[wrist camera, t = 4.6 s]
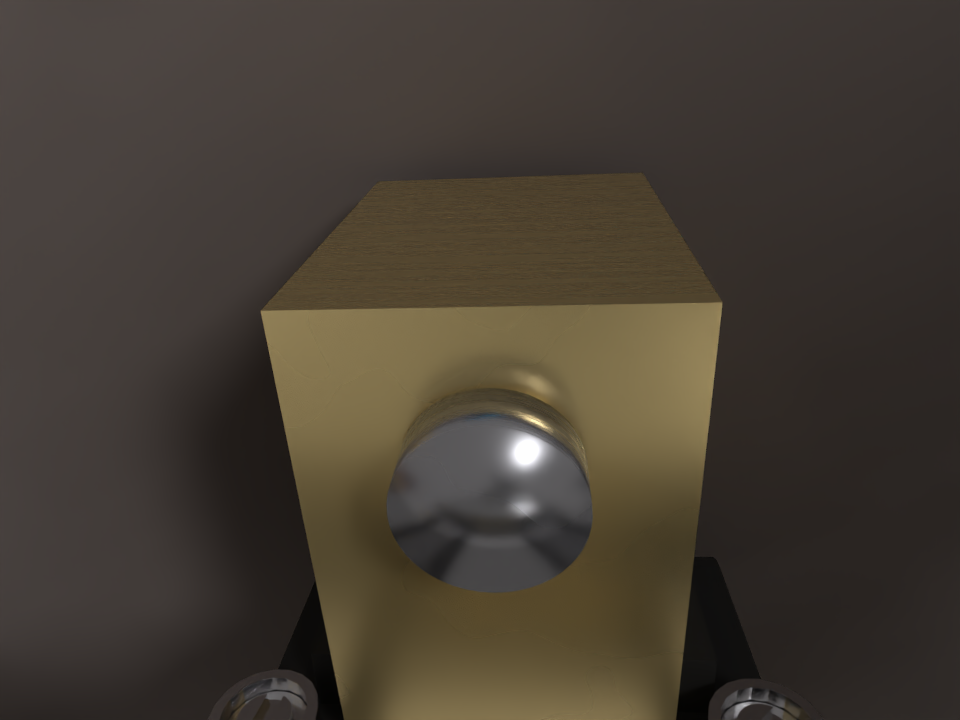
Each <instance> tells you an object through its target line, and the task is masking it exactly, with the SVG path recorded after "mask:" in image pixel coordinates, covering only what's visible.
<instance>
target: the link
mask: <svg viewBox="0 0 960 720" xmlns="http://www.w3.org/2000/svg"><path fill="white" fill-rule="evenodd" d="M721 312H722V301H721V299H720V298H719V296H718V294H717V293H716V291H715V290H714V288H713V286H712V285H711V283H710V281H709V280H708V278H707V277H706V275H705V273H704V272H703V270H702V268H701V267H700V265H699V264H698V262H697V260H696V259H695V257H694V255H693V254H692V252H691V251H690V249H689V247H688V246H687V244H686V242H685V241H684V239H683V238H682V236H681V234H680V233H679V231H678V230H677V228H676V226H675V225H674V223H673V221H672V220H671V218H670V217H669V215H668V213H667V212H666V210H665V208H664V207H663V205H662V204H661V202H660V200H659V199H658V197H657V195H656V194H655V192H654V191H653V189H652V187H651V186H650V184H649V182H648V181H647V179H646V178H645V176H644V174H643V173H615V174H586V175H557V176H528V177H498V178H469V179H440V180H411V181H381V182H377V184H376V185H375V186H374V187H373V188H372V189H371V190H370V191H369V192H368V193H367V195H366V196H365V197H364V198H363V199H362V200H361V201H360V202H359V203H358V204H357V206H356V207H355V208H354V209H353V210H352V211H351V212H350V213H349V214H348V215H347V216H346V218H345V219H344V220H343V221H342V222H341V223H340V224H339V225H338V226H337V227H336V229H335V230H334V231H333V232H332V233H331V234H330V235H329V236H328V237H327V238H326V240H325V241H324V242H323V243H322V244H321V245H320V246H319V247H318V248H317V249H316V251H315V252H314V253H313V254H312V255H311V256H310V257H309V258H308V259H307V260H306V262H305V263H304V264H303V265H302V266H301V267H300V268H299V269H298V270H297V271H296V272H295V274H294V275H293V276H292V277H291V278H290V279H289V280H288V281H287V282H286V283H285V285H284V286H283V287H282V288H281V289H280V290H279V291H278V292H277V293H276V294H275V296H274V297H273V298H272V299H271V300H270V301H269V302H268V303H267V304H266V305H265V307H264V308H263V309H262V310H261V315H262V320H263V325H264V330H265V335H266V340H267V345H268V349H269V354H270V359H271V364H272V369H273V374H274V379H275V384H276V389H277V393H278V398H279V403H280V408H281V413H282V418H283V423H284V428H285V433H286V438H287V442H288V447H289V452H290V457H291V462H292V467H293V472H294V477H295V482H296V487H297V491H298V496H299V501H300V506H301V511H302V516H303V521H304V526H305V531H306V535H307V540H308V545H309V550H310V555H311V560H312V565H313V570H314V575H315V580H316V584H317V589H318V594H319V599H320V604H321V609H322V614H323V619H324V624H325V629H326V633H327V638H328V643H329V648H330V653H331V658H332V663H333V668H334V673H335V677H336V682H337V687H338V692H339V697H340V702H341V707H342V712H343V717H344V720H676V715H677V706H678V697H679V688H680V679H681V670H682V661H683V652H684V643H685V634H686V625H687V616H688V607H689V598H690V589H691V580H692V571H693V562H694V553H695V544H696V536H697V527H698V518H699V509H700V500H701V491H702V482H703V473H704V464H705V455H706V446H707V437H708V428H709V419H710V410H711V401H712V392H713V383H714V374H715V365H716V356H717V347H718V338H719V329H720V321H721Z"/></svg>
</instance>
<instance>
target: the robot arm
mask: <svg viewBox="0 0 960 720" xmlns="http://www.w3.org/2000/svg"><path fill="white" fill-rule="evenodd" d="M208 720H344V717H343V712H342V707H341V702H340V697H339V692H338V687H337V682H336V677H335V673H334V668H333V663H332V658H331V653H330V648H329V643H328V638H327V633H326V629H325V624H324V619H323V614H322V609H321V604H320V599H319V594H318V589H317V584H316V581H315V583H314V585H313V588H312V590H311V592H310V595H309V597H308V600H307V602H306V604H305V607H304V609H303V611H302V614H301V616H300V619H299V621H298V623H297V626H296V628H295V631H294V633H293V635H292V638H291V640H290V642H289V645H288V647H287V650H286V652H285V654H284V657H283V659H282V661H281V664H280V666H279V669H274V670H269V671H264V672H259V673H256V674H254V675H252V676H249V677H247V678H245V679H242V680H241V681H239V682H238V683H237V684H235V685H234V686H232V687H231V688H230V689H228V690H227V691H226V692H225V693H224V694H223V695H222V697H221V698H220V699H219V700H218V701H217V702H216V704H215V706H214V707H213V709H212V711H211V713H210V715H209V717H208ZM676 720H824V719H823V717H822V716H821V715H820V713H819V712H818V711H817V710H816V709H815V708H814V707H813V705H812V704H811V703H810V702H809V701H807V700H806V699H805V698H803V697H802V696H800V695H799V694H798V693H796V692H795V691H793V690H791V689H789V688H787V687H785V686H782V685H780V684H778V683H775V682H771V681H766V680H762V679H761V678H760V676H759V673H758V670H757V667H756V665H755V662H754V659H753V657H752V654H751V651H750V648H749V646H748V643H747V640H746V638H745V635H744V632H743V630H742V627H741V624H740V621H739V619H738V616H737V613H736V611H735V608H734V605H733V602H732V600H731V597H730V594H729V592H728V589H727V586H726V583H725V581H724V578H723V575H722V573H721V570H720V567H719V565H718V563H717V561H716V559H714V558H713V557H694V562H693V571H692V580H691V589H690V598H689V607H688V616H687V625H686V634H685V643H684V652H683V661H682V670H681V679H680V688H679V697H678V706H677V715H676Z"/></svg>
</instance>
